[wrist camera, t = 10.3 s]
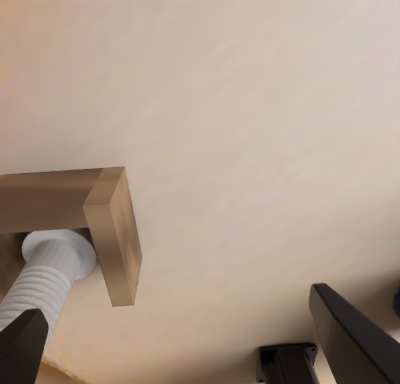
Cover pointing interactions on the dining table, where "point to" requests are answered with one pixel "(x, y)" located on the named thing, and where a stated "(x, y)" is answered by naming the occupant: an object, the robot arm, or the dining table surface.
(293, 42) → the dining table surface
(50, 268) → the bolt
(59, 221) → the slot bracket
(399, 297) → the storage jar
